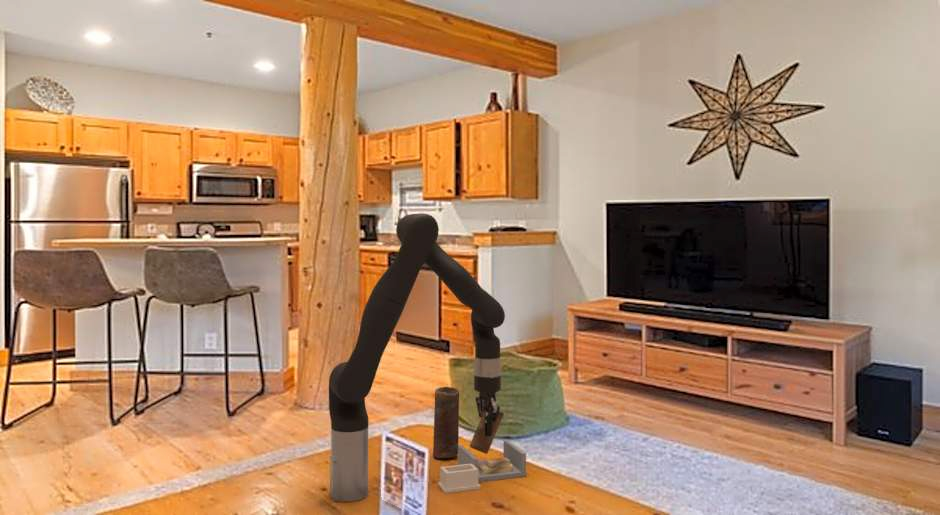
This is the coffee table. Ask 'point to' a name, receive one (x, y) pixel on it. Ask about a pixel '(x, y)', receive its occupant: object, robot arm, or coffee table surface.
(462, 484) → the holder
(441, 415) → the brown log
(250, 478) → the coffee table surface
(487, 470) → the block
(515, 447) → the rack
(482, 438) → the slat
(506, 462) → the offcut short
